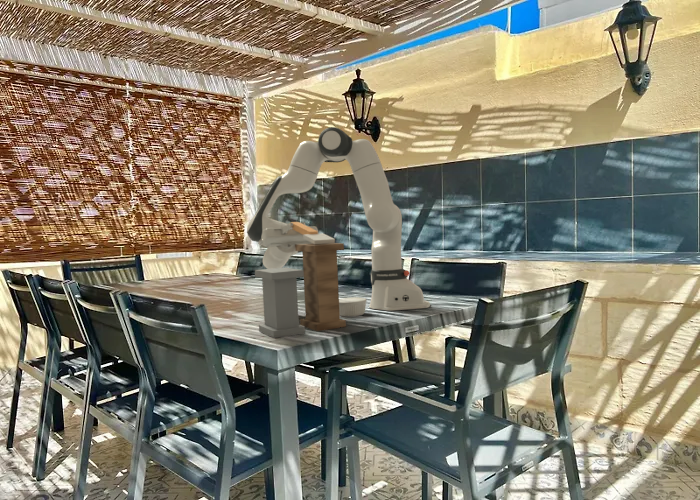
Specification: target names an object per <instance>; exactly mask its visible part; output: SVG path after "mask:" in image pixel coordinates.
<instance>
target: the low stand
mask: <svg viewBox="0 0 700 500" xmlns="http://www.w3.org/2000/svg"><path fill="white" fill-rule="evenodd" d="M254 276H255V277H256V278H261V279H262V280H261V281H262V283H261V284H262V299H263V300H262V301H263V302H262V303H263V316H264V317H263V318H264V319H263V320H264V321H263V322H264V324H263V323H262V324H259V325H258V331H259V332H260V333H262V334H264V335H266V336H268V337H271V338H273V339H274V338H275V339H276V338H283V337H289V336H297V335H301V334H306V327H305V326H302V325H301V324H299V322H300V320H299V307H298V306H299V303H298V283H297V282H298V281H297V280H298V279H297V278H304V271H303V269H300V268H299V269H298V268H292V267H286V266H283V267H282V268H273V269H267V268H263V269H254Z"/></svg>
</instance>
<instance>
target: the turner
mask: <svg viewBox="0 0 700 500" xmlns="http://www.w3.org/2000/svg"><path fill="white" fill-rule="evenodd" d="M300 222H301V221H291V222H289V223H293V225H294V227H293V230H295V231H297V232H299V233H301V234H303V238H304V239H306V240H308V241H309V242H311V243H313V244H325V243H336V238H333V237H332V236H330V235H328V234H325V233H319V234H318V232H319V230H318V231H316V230H314V229H312V228H310V227H308V225H306V224H305V225H304V224H302V223H300Z"/></svg>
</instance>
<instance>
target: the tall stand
mask: <svg viewBox="0 0 700 500" xmlns="http://www.w3.org/2000/svg"><path fill="white" fill-rule="evenodd" d="M344 244H345V243H339V242H335V243H325V244H298V245H295V250H296V251H302V252H301V253H302V270H303V271H304V277H303V289H304V290H303V291H304V309H305V310H304V311H305V318H299V319H300V320H299V322H300V324H299V325H302V326H305V329H306V328H307V329H309V330H313V331H316V332H321V331H326V330H327V331H328V330H334V329H341V328H347V324H346V319H342V318H341V316H340V313H339V299H340V298H339V293H340V291H339V273H338V270H339V269H338V255H337V254H338V253H337V252H338V251H344V250H345V245H344ZM340 327H341V328H340Z"/></svg>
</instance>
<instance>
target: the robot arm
mask: <svg viewBox="0 0 700 500" xmlns="http://www.w3.org/2000/svg"><path fill="white" fill-rule="evenodd" d="M344 161H347V162H348V164H349V167H350V169H351V172H352V174H353V177H354V179H355V183H356V186H357V188H358V191H359V193H360V194H359V195H360V198H361V202H362V206H363V211H364V214H365V218H366V222H367V224H368V226H369V227H370V229H372V243H371V270H370V283H371V287H372V288H371V297H370V298H371V299H370V303H369V308H370V309H374V310H382V311H401V310H402V311H403V310H404V311H405V310H415V309H427V308H430V306H431V303H430V302H429V301H428V300H426V299H425V298H424V297H425V296H424V293H423V290H422V289H421V287H420V286H418V285H417V284H415V283H414V282H413V281H411V280H410V279H408V276H409V275H410V271H409V270H408V269H407V270H406V269H404V268H403V267H402V232H403V231H402V230H403V229H402V228H403V221H402V220H403V219H402V218H403V217H402V210H400V207H398V206H397V205H396V204H395V203H394V201H393V197H392V194H391V191H390V185H389V181H388V178H387V177H386V174H385V170H384V168H383V167H384V166H383V165H382V163H381V160H380V158H379V155H378V153H377V150H376V149H375V148H374V146H373V144H372V143H371V141H370V140H368V139H365V138H360V139H355V140H353V138H352V137H351V136H349V135H348V134H347V133H346V132H344V130H342V128H341V129H340V128H338V127H335V126H330V127H327V128H325V129H323V130H322V131H321V132H320V134H319V136H318V139H317V141H312V140H304V141H302V142H300V143H299V145H298V147H297V148H296V150H295V152H294V154H293V156H292V159H291V161H290V164H289V166H288V169H287V170H286V172H285V173H284V174H282V175H278V176H276V178H275V179H274V181H273V182H272V183H271V185H270V187H269V188H268V190H267V192H266V194H265V196H264V197H263V199H262V201H261V203H260V205H259V206H258V208H257V210H256V212H255V214H253V216H252V217H251V219H250V221H249V222H248V224H247V227H246V233H247V236H248V237H249V239H250V240H251V241H253V242H256V243H258V246H262V247H265V248H266V250H265V252H264V254H263V257H262V264H263V266H264V268H265V269H273V268H284V267H285V265H286V264H287V262H288V261H289V260H290V258H291V256H293V255H296V254H298V253H303V252H302V251H296V250H295V245H298V244H313V243H311V242H309V241H308V240H306V239H304V238H303V234H301V233H299V232H297V231H295V230H293V227H294V225H293V223H290V222H288V223H286V222H283V221H279V220H276V219H273V218H270V217H269V216H268V215H269V213H270V211H271V210H272V209H273V206H274V204H275V203H276V200H277V199H278V198H279V197H280V196H282V195H286V194H287V195H288V194H300V193H301V194H302V193H306V192H308V191H310V190H311V189H313V187H314V186H315V183H316V181H317V178H318V175H319V172H320V169H321V167H322V165H323V164H324V163H341V162H344ZM299 222H300V223H302V224H304V225H306V222H303V221H302V222H301V221H299ZM307 226H308V225H307ZM308 227H310V228H312V229H314V230H316V231H318V234H320V232H319V229H318V227H317V226H314V225H310V226H308Z"/></svg>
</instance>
